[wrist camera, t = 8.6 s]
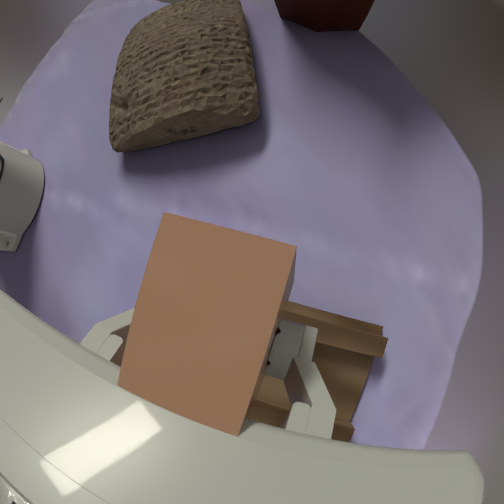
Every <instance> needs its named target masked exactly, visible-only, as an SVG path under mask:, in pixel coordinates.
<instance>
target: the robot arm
mask: <svg viewBox="0 0 504 504" xmlns="http://www.w3.org/2000/svg"><path fill="white" fill-rule="evenodd" d="M43 186H44V172H43V168H42V165H41V164H40V162H39V161H37V160H36V159H34V158H33V157H32V155H31V152H30V151H29V150H27V149H23V150H22V151H19V150H17V149H15V148H13V147H11V146H9V145H7V144H5V143H2V142H0V251H9V252H14V251H16V249H17V247H18V245H19V242H20V240H21V237H22V235H23V233H24V231H25V230H26V229H27V227H28V226H29V224H30V223H31V221H32V219H33V218H34V216H35V213H36V211H37V209H38V206H39V203H40V200H41V196H42V192H43ZM134 309H135V308H133V309H131V310H128V311H126V312H123V313H121V314H118V315H116V316H114V317H111V318H109V319H106V320H104V321H101V322H99V323H96V324H95V325H94V327H93V328H92V329H91V330H90V331H89V333H88V334H87V335H86V336H85V338H84V339H83V340H82V341H81V343H80V344H79V343H77V342H76V341H74V340H72V339H71V338H69V337H67V336H66V335H64V334H63V333H61V332H59V331H58V330H56V329H55V328H53V327H52V326H50V325H49V324H47V323H46V322H44V321H43V320H41V319H40V318H39V317H37V316H36V315H34V314H33V313H31V312H30V311H29V310H27V309H26V308H25V307H23V306H22V305H21V304H19V303H18V302H17V301H15V300H14V299H13V298H11V297H10V296H9V295H8V294H6V293H5V292H4V291H2V290H0V504H482V503H483V495H484V475H483V473H482V471H481V469H480V467H479V466H478V464H477V462H476V460H475V459H474V457H473V456H472V454H471V453H470V452H468V451H463V450H455V451H454V450H453V451H451V450H450V451H445V450H443V451H442V450H440V451H439V450H414V449H400V448H389V447H380V446H371V445H364V444H357V443H350V442H344V441H338V440H333V439H331V436H332V431H333V426H334V421H335V415H336V408H335V406H334V403H333V401H332V399H331V397H330V395H329V392H328V390H327V388H326V386H325V383H324V381H323V379H322V377H321V375H320V372H319V370H318V368H317V366H316V364H315V362H312V357H313V352H314V347H315V342H316V337H317V332H318V329H317V328H315V327H311V326H307V325H304V324H300V323H296V322H293V321H289V320H285V319H281V321H280V324H279V327H278V330H277V333H276V336H275V339H274V342H273V345H272V348H271V351H270V355H269V358H268V362H267V365H266V369H265V372H264V374H265V375H268V376H271V377H274V378H277V379H281V380H284V385H285V388H286V391H287V395H288V398H289V402H290V405H291V408H290V410H289V411H288V413H287V415H286V416H285V418H284V420H283V421H282V423H281V425H280V427H275V426H272V425H268V424H264V423H261V422H257V421H254V420H251V419H248V418H245V419H244V422H243V424H242V427H241V429H240V432H239V435H238V437H237V436H234V435H231V434H228V433H225V432H222V431H219V430H216V429H214V428H211V427H208V426H205V425H203V424H200V423H198V422H195V421H192V420H190V419H187V418H185V417H183V416H180V415H178V414H175V413H173V412H171V411H168V410H166V409H164V408H162V407H160V406H157V405H155V404H153V403H151V402H149V401H147V400H145V399H143V398H140V397H138V396H136V395H134V394H132V393H131V392H129V391H127V390H125V389H123V388H121V387H119V386H117V384H118V379H119V374H120V369H121V364H122V359H123V355H124V350H125V346H126V341H127V337H128V333H129V329H130V325H131V321H132V317H133V313H134Z"/></svg>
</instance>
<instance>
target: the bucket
mask: <svg viewBox="0 0 504 504" xmlns="http://www.w3.org/2000/svg"><path fill="white" fill-rule="evenodd" d="M274 1H275V3H276V6H277V9H278V12H279V15H280V17H281V18H284V19H287V20H289V21H292V22H295V23H297V24H300V25H302V26H304V27H307V28H309V29H312V30H314V31H316V32H324V31H347V30H359V29H360V27H361V25H362V23H363V22H364V20H365V18H366V17H367V15H368V13H369V11H370V9H371V7H372V5H373V3H374V1H375V0H274Z"/></svg>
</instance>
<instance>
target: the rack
mask: <svg viewBox="0 0 504 504" xmlns="http://www.w3.org/2000/svg"><path fill="white" fill-rule="evenodd" d="M283 319H285V320H289V321H293V322H296V323H300V324H304V325H307V326H311V327H315V328H317V329H318V332H317V337H316V342H315V347H314V352H313V357H312V362H315V364H316V366H317V368H318V370H319V372H320V375H321V377H322V379H323V381H324V383H325V386H326V388H327V390H328V392H329V395H330V397H331V399H332V401H333V403H334V406H335V408H336V415H335V421H334V426H333V431H332V436H331V439H333V440H338V441H344V442H349V441H350V439H351V437H352V435H353V432H354V430H355V429H354V427H353V425H352V424H351V422H350V420H351V417H352V415H353V413H354V410H355V408H356V405H357V403H358V400H359V398H360V395H361V392H362V390H363V387H364V384H365V382H366V379H367V376H368V373H369V370H370V367H371V364H372V361H373V358H374V356H376V357H381V358H382V357H383V354H384V351H385V347H386V344H387V341H388V338H386V337H383V336H381V333H382V329H383V326H379V325H375V324H371V323H367V322H363V321H359V320H356V319H352V318H348V317H344V316H341V315H337V314H333V313H329V312H326V311H322V310H318V309H315V308H311V307H308V306H304V305H300V304H297V303H293V302H290V301H288V303H287V307H286V310H285V313H284V317H283ZM290 408H291V405H290V402H289V398H288V395H287V391H286V388H285V385H284V380H281V379H277V378H274V377H271V376H268V375H265V377H264V380H263V382H262V385H261V387H260V390H259V392H258V395H257V397H256V400H255V402H254V405H253V407H252V410H251V412H250V414H249V417H248V419H251V420H254V421H257V422H261V423H264V424H268V425H272V426H275V427H280V425H281V423H282V421H283V420H284V418H285V416H286V415H287V413H288V411H289V410H290Z"/></svg>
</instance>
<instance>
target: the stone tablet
mask: <svg viewBox="0 0 504 504" xmlns="http://www.w3.org/2000/svg"><path fill="white" fill-rule="evenodd" d="M258 100H259V95H258V89H257V85H256V80H255V71H254V63H253V56H252V50H251V45H250V41H249V34H248V30H247V25H246V21H245V17H244V12H243V10H242V6H241V3H240V0H184V1H182V2H177V3H174V4H171V5H168V6H165V7H163V8H160V9H158V10H157V11H155V12H153V13H151V14H150V15H148V16H146V17H145V18H143V19H142V20H140V21H139V22H138V23H137V24H136V25H135V26H134V27H133V28H132V29H131V30H130V34H128V35H127V37H126V39H125V41H124V43H123V47H122V50H121V52H120V54H119V57H118V60H117V65H116V72H115V75H114V79H113V84H112V92H111V100H110V101H111V103H110V119H109V136H110V142H111V145H112V148H113V150H115V151H116V152H123V151H136V150H142V149H145V148H151V147H158V146H162V145H165V144H169V143H172V142H175V141H181V140H187V139H192V138H195V137H199V136H203V135H207V134H211V133H214V132H218V131H221V130H225V129H228V128H231V127H241V126H243V125H245V124H246V123H251V122H253V121H254V120H256V119H257V118H258V116H259V105H258Z"/></svg>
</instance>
